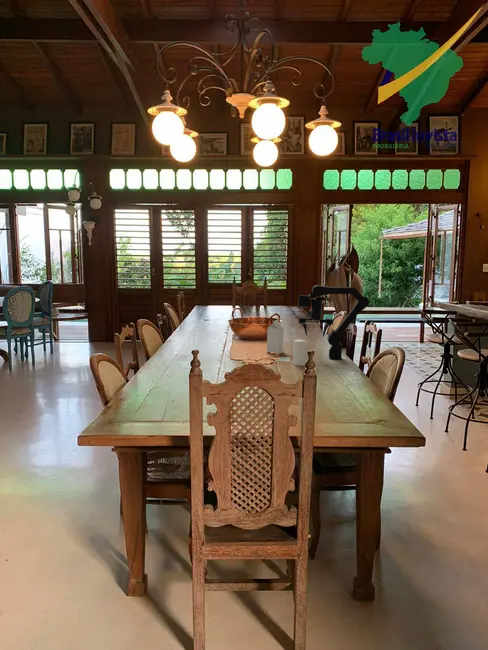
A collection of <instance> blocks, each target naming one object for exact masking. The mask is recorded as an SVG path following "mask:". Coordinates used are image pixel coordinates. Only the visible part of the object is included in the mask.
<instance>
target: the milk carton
mask: <svg viewBox="0 0 488 650" xmlns="http://www.w3.org/2000/svg"><path fill="white" fill-rule="evenodd" d="M284 328H285V327H284V326H283V325H282V323H281V322H279V319H276V320H273V322H272V323H271V324H270V325H269V326H268V327H267V331H266V332H267V333H266V334H267V335H266V353H267V352H274V353H279V354H278V355H280V354H282V353H283V352H284V334H285V333H284V332H285V331H284V330H285V329H284Z"/></svg>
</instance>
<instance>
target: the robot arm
mask: <svg viewBox="0 0 488 650" xmlns="http://www.w3.org/2000/svg"><path fill="white" fill-rule="evenodd" d="M327 295H351V296H352V297H353V298H354V299H355V300H356V301H355V302H354V305H353V307H352V309H351V310H350V311H349V313H348V314H347V315H346V316H345V318H343V320H342V321H341V323H340V324H339V325H338V327H337V328H335V329H333V328H332V329H330V332H329V333H327V338H326V339H327V342H328V344H329V345H330V346H329V347H330V348H329V349H328V358H329V359H330V360H339V361H340V360H343V357H342V356H343V344H342V343H341V338H342V337H343V334H344V332H345V331H346V330H347V328H348V327H349V326H350V325H351V323H353V321H354V319H355V318H357V316H358V315H359V313H361V312H362V311H363V310H365V309H366V308H367V307H368V306H369V304H370V299H369V298H368V297H367V296H365V295H363V294H362V293H360V292H359V291H358V289H356V287H355V286H326V285H319V284H317V285H316V284H315V285H314V286H313V287H312V289H311V291H310V293H309V294H308V295H303V294H299V295H298V301H297V308H304V309H305V308H307V309H308V308H309V307H311V308H310V310H307V317H306V316H299V317H298V324H300V325H301V326H303V330H304V333H305V336H308V329H307V323H318V324H319V323H321V324H323V331H322V337H324V336H325V334H326V332H327V330H328V328H329V327H331V325H333V326H334V319H333V318H329V317H325V318H324V319H322V313H323V309H322V308H323V301H326V300H327V299H326V298H325V296H327Z"/></svg>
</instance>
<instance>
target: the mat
mask: <svg viewBox="0 0 488 650" xmlns="http://www.w3.org/2000/svg"><path fill="white" fill-rule="evenodd" d="M279 357H280V359H278V360H275V361H274V362H291V357H287V356H286V357H285V356H284V357H283V356H279Z"/></svg>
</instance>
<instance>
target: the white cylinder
mask: <svg viewBox="0 0 488 650" xmlns="http://www.w3.org/2000/svg"><path fill="white" fill-rule="evenodd" d="M308 344H309V342H308V339H307V340H305V339H294V340H293V353H292V364H293V365H294V366H298V367H299V366H306V365H305V362H306V361H307V362H308V348H309V347H308Z"/></svg>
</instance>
